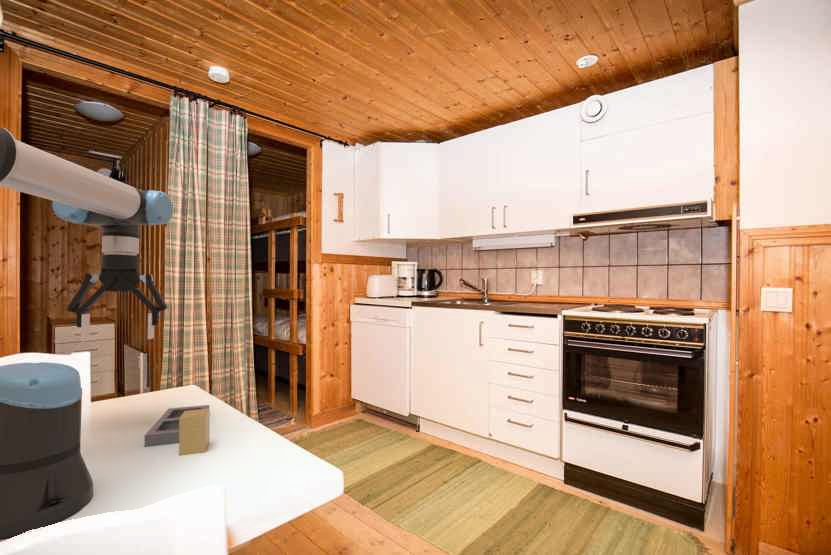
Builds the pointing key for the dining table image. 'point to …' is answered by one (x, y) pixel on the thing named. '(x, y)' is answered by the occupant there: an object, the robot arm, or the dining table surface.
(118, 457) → the dining table surface
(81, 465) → the robot arm
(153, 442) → the rail
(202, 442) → the block
